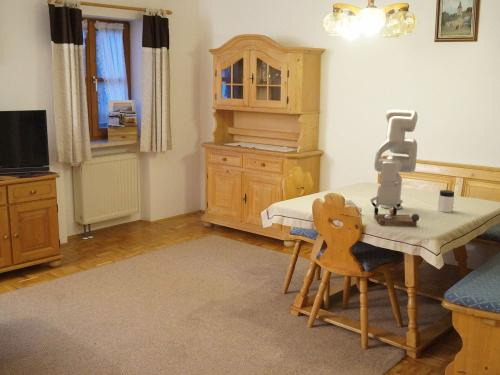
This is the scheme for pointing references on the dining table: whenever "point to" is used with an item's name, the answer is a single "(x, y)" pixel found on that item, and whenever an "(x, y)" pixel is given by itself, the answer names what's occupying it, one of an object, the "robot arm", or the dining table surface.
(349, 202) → the penguin figurine
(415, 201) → the dining table surface
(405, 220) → the board
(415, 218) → the black ball
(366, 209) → the dining table surface
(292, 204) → the dining table surface
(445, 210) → the jar
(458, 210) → the dining table surface
